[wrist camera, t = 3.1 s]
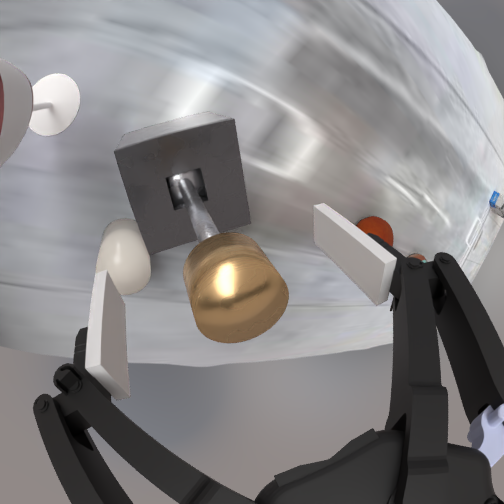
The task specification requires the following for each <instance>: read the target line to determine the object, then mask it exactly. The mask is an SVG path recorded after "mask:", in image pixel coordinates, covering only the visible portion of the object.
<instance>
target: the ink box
mask: <svg viewBox="0 0 504 504" xmlns="http://www.w3.org/2000/svg"><path fill="white" fill-rule="evenodd" d="M490 205H491V209H492V211H493V212H494V213H496V214H497V215H499V216H501V217H502V218H504V196H503V195H501V194H499V193H497V192H496V191H494V193H493V195H492V197H491V199H490Z"/></svg>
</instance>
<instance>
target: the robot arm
mask: <svg viewBox="0 0 504 504" xmlns="http://www.w3.org/2000/svg"><path fill="white" fill-rule="evenodd" d="M313 212H314V243H315V244H316V245H317V246H318V247H319V248H320V249H321V250H322V251H323V252H324V253H325V254H326V255H327V256H328V257H329V258H330V259H331V260H332V261H333V262H334V263H335V264H336V265H337V266H338V267H339V268H340V269H341V270H342V271H343V272H344V273H345V274H346V275H347V276H348V277H349V278H350V279H351V280H352V281H353V282H354V283H355V284H356V285H357V286H358V287H359V288H360V289H361V290H362V291H363V292H364V293H365V294H366V295H367V296H368V298H369V299H370V300H371V301H372V302H373V303H374V304H375V305H376V306H378V305H379V304H381V303H383V302H385V301H387V300H388V296H389V292H390V293H391V294H392V295H393V296H394V297H393V301H392V305H391V308H390V311H392V309H393V370H392V371H393V372H392V388H391V401H390V411H389V416H388V419H387V422H386V425H385V430H381V431H376V432H375V431H374V429H370V430H369V431H367V432H365V433H364V434H362V435H360V436H358V437H357V438H355V439H353V440H351V441H350V442H349V443H348V444H347V445H346V446H344V447H343V448H342V449H341V450H340V451H339V452H337V453H336V454H335V455H334V456H333V457H332V458H330V459H328V460H324V461H320V462H315V463H310V464H306V465H300V466H297V467H295V468H293V469H290V470H288V471H285V472H283V473H280V474H278V475H275V476H274V477H275V480H273V481H272V482H270V483H269V484H268V485H266V486H265V487H264V489H262V490H261V492H260V493H259V494H258V496H257V497H256V499H255V501H253V500H251V499H249V498H247V497H245V496H243V495H241V494H239V493H237V492H235V491H233V490H231V489H229V488H227V487H226V486H224V485H222V484H220V483H218V482H217V481H215V480H213V479H212V478H210V477H208V476H207V475H205V474H204V473H202V472H200V471H199V470H197V469H196V468H194V467H193V466H191V465H190V464H188V463H187V462H185V461H184V460H182V459H181V458H179V457H178V456H176V455H175V454H174V453H172V452H171V451H169V450H168V449H167V448H165V447H164V446H163V445H161V444H160V443H159V442H157V441H156V440H155V439H153V438H152V437H151V436H149V435H148V434H147V433H146V432H145V431H143V430H142V429H141V428H140V427H139V426H137V425H136V424H135V423H134V422H132V421H131V420H130V419H129V418H128V417H127V416H126V415H125V414H124V413H122V412H121V411H120V410H119V409H118V408H117V407H116V406H115V405H114V404H112V403H111V395H112V396H113V397H114V398H115V399H116V400H121V399H125V398H130V397H131V395H130V387H129V375H128V362H127V346H126V318H125V303H124V301H123V299H122V298H121V296H120V294H119V292H118V290H117V288H116V286H115V285H114V283H113V281H112V279H111V277H110V275H109V273H108V271H107V270H104V271H102V272H99V273H96V274H95V279H94V285H93V292H92V299H91V306H90V314H89V323H88V327H86V328H83V329H80V330H79V332H78V334H77V336H76V341H75V350H74V353H75V354H74V362H73V364H69V363H67V364H64V365H62V366H61V367H59V368H58V369H57V371H56V372H55V375H54V381H53V382H54V385H55V386H56V387H57V388H58V389H59V390H60V391H61V392H62V393H61V394H59V395H57V396H56V397H54V398H52V397H51V396H50V395H48V394H42V395H40V396H39V397H38V398H37V399H36V400H35V402H34V406H33V411H34V415H35V419H36V421H37V425H38V428H39V431H40V433H41V436H42V439H43V442H44V445H45V447H46V450H47V452H48V455H49V457H50V460H51V462H52V464H53V467H54V469H55V471H56V474H57V476H58V478H59V480H60V482H61V484H62V486H63V488H64V490H65V492H66V494H67V496H68V498H69V500H70V502H71V503H72V504H133V503H132V501H131V500H130V499H129V497H128V496H127V494H126V493H125V491H124V490H123V489H122V487H121V486H120V484H119V483H118V481H117V480H116V478H115V477H114V475H113V474H112V472H111V471H110V469H109V467H108V466H107V464H106V463H105V461H104V459H103V458H102V456H101V454H100V452H99V451H98V449H97V447H96V445H95V444H94V442H93V440H92V438H91V436H90V434H89V433H88V430H87V429H88V428H90V427H93V428H94V429H95V430H96V431H97V433H98V434H99V435H100V436H101V437H102V438H103V439H104V440H105V441H106V442H107V443H108V444H109V445H110V446H111V447H112V448H113V449H114V450H115V451H116V452H117V453H118V454H119V455H120V456H121V457H123V459H125V460H126V461H127V462H128V463H129V464H130V465H131V466H132V467H134V468H135V469H136V470H137V471H138V472H139V473H140V474H142V475H143V476H144V477H145V478H146V479H148V480H149V481H150V482H151V483H153V484H154V485H155V486H156V487H158V488H159V489H160V490H161V491H163V492H164V493H165V494H167V495H168V496H169V497H171V498H172V499H174V500H175V501H176V502H178V503H179V504H504V502H503V501H501V500H500V499H499V498H498V497H497V496H496V494H495V492H494V489H493V485H492V478H491V467H492V466H493V465H494V464H495V463H496V462H497V461H498V460H499V459H500V458H501V457H502V456H503V455H504V347H503V345H502V342H501V340H500V338H499V336H498V334H497V332H496V330H495V328H494V326H493V324H492V322H491V320H490V318H489V316H488V314H487V312H486V310H485V308H484V307H483V305H482V303H481V301H480V299H479V297H478V296H477V294H476V292H475V291H474V289H473V287H472V285H471V284H470V282H469V280H468V279H467V277H466V276H465V274H464V272H463V271H462V269H461V268H460V266H459V265H458V263H457V262H456V260H455V259H454V258H453V256H451V255H450V254H448V253H443V252H440V253H437V254H436V255H435V257H434V261H431V262H425V263H424V262H422V261H421V260H420V259H418V258H414V257H407V258H406V257H405V256H403V255H402V254H401V253H400V252H398V251H397V250H396V249H394V248H393V247H392V246H391V245H390V246H389V244H388V243H387V242H384V240H383V239H381V238H380V237H379V236H377V235H374V234H372V233H368V234H365V233H364V232H363V231H361V230H360V229H359V228H357V227H356V226H355V225H353V224H352V223H351V222H349V221H348V220H347V219H345V218H344V217H343V216H341V215H340V214H339V213H337V212H336V211H334V210H333V209H332V208H330V207H329V206H327V205H326V204H325V203H321V204H318V205H314V206H313ZM436 326H437V329H438V331H439V334H440V336H441V339H442V342H443V345H444V347H445V350H446V353H447V356H448V359H449V361H450V364H451V367H452V370H453V373H454V377H455V380H456V383H457V386H458V389H459V393H460V397H461V400H462V403H463V407H464V410H465V413H466V416H467V418H468V420H469V422H470V424H471V425H470V431H469V433H468V435H467V438H468V440H469V441H470V442H472V447H471V448H470V447H464V446H460V445H455V444H450V443H447V441H448V392H447V389H446V387H443V386H442V385H441V371H440V358H439V346H438V337H437V329H436Z"/></svg>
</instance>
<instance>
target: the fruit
mask: <svg viewBox="0 0 504 504" xmlns="http://www.w3.org/2000/svg"><path fill="white" fill-rule="evenodd" d="M356 227H357V228H359V229H360V230H361V231H363V232H364V233H365V234H368V233H372V234H374V235H377V236H379V237H380V238H381V239H383V240H384V242H387V243H388V244H389V246H390V245H391V246H393V232H392V229H391V227H390V225H389V224H388V223H387V222H386V221H385V220H383V219H381V218H379V217H375V216H371V217H368V218H365V219H363V220H361V221H360V222H359V223H358V224H357V225H356Z"/></svg>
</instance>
